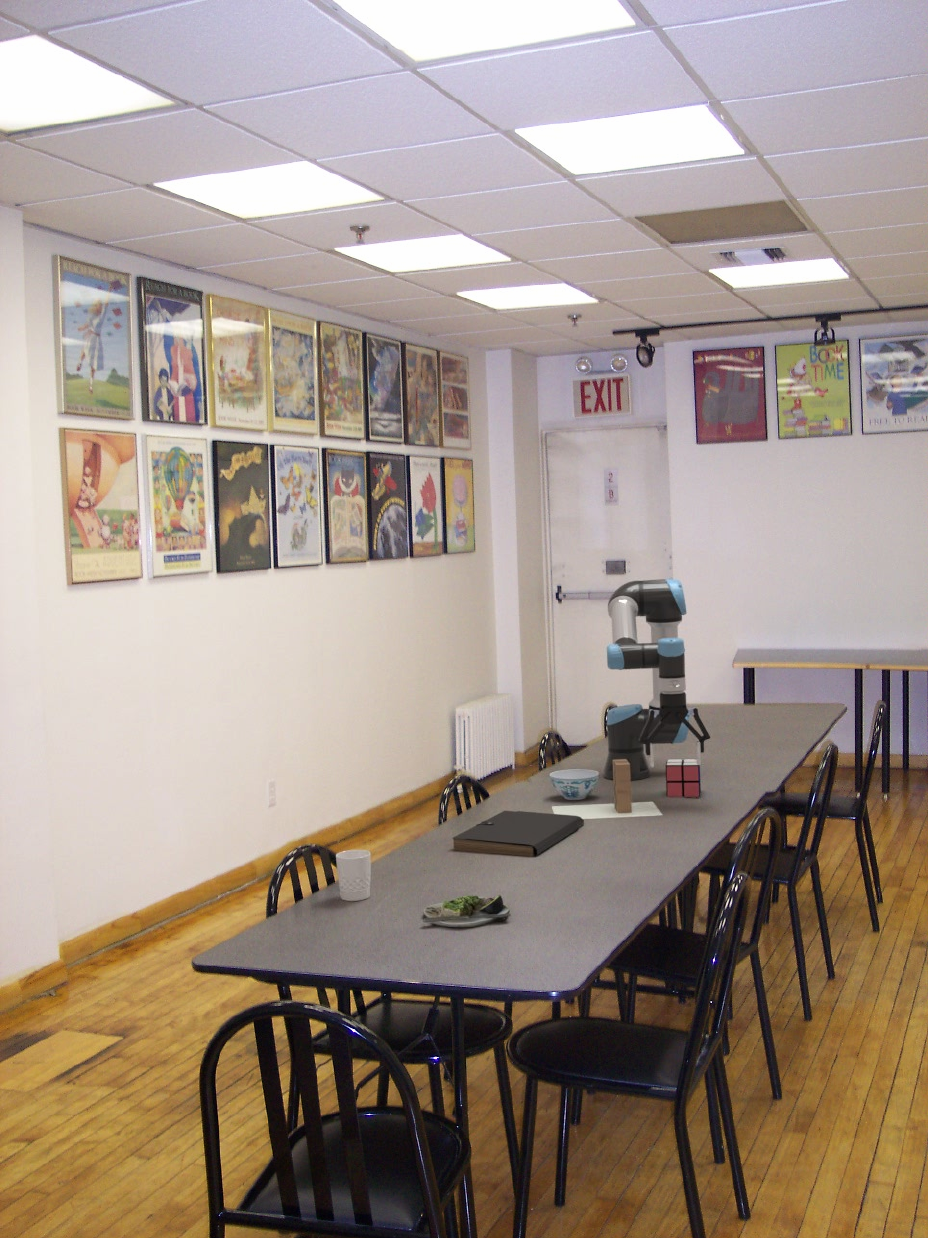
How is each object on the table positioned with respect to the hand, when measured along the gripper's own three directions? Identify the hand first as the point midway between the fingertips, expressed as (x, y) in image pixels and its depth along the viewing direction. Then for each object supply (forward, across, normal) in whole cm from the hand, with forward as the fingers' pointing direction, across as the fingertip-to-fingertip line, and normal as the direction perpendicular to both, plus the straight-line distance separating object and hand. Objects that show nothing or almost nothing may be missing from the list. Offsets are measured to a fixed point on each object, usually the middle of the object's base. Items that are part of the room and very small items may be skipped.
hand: (675, 765), depth 353 cm
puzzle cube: (+13, +6, +19) cm, 24 cm away
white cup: (+13, -87, -74) cm, 115 cm away
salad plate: (+13, -61, -92) cm, 111 cm away
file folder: (+13, -47, -26) cm, 55 cm away
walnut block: (+12, -16, 0) cm, 20 cm away
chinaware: (+13, -28, +20) cm, 36 cm away
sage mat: (+13, -20, 0) cm, 24 cm away
